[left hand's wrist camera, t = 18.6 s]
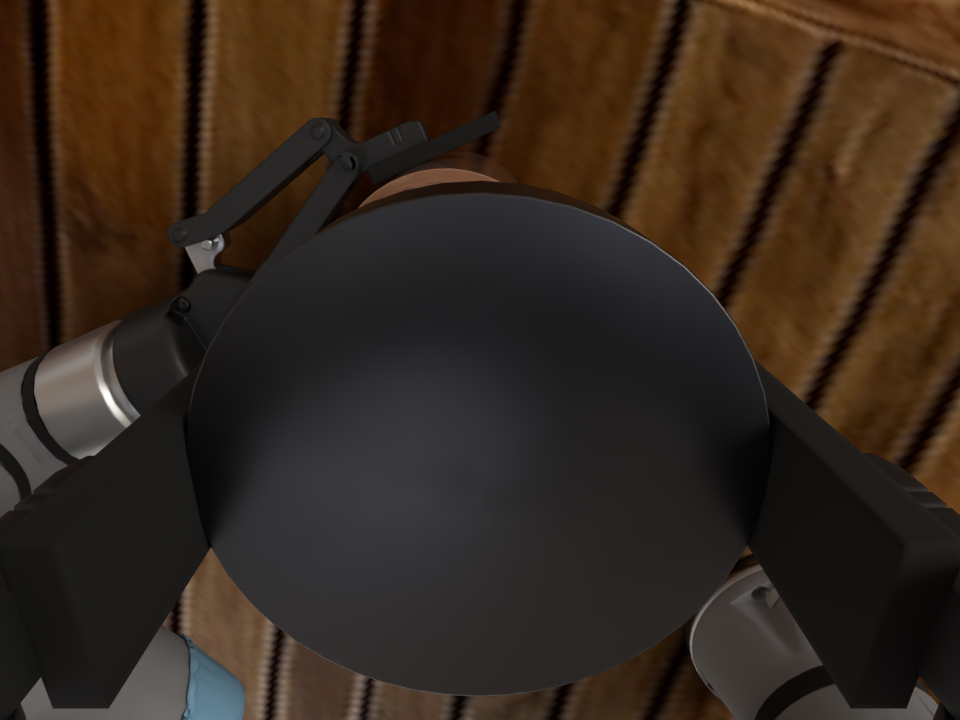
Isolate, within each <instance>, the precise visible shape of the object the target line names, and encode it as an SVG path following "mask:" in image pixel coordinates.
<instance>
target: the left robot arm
mask: <svg viewBox="0 0 960 720" xmlns="http://www.w3.org/2000/svg"><path fill="white" fill-rule="evenodd" d="M754 361H755V360H754ZM201 364H202V363H201ZM201 364H200V365H199V366H197V367H196V368H195V369H194V370H193V371H192V372H190V373H189V374H188V375H187V376H186V377H185V378H184V379H182V380H181V381H180V382H179V383H178V384H177V385H175V386H174V387H173V388H172V389H171V390H170V391H169V392H167V393H166V394H165V395H164V396H163V397H162V398H160V399H159V400H158V401H157V402H156V403H155V404H154V405H152V406H151V407H150V408H149V409H148V410H147V411H145V412H144V413H143V414H142V415H141V416H140V417H139V418H137V419H136V420H135V421H134V422H133V423H132V424H130V425H129V426H128V427H127V428H126V429H125V430H124V431H122V432H121V433H120V434H119V435H118V436H117V437H115V438H114V439H113V440H112V441H111V442H110V443H108V444H107V445H106V446H105V447H104V448H103V449H102V450H100V451H99V452H98V453H97V454H96V455H95V456H86V457H84V458H82V459H80V460H78V461H76V462H74V463H72V464H70V465H68V466H66V467H64V468H62V469H60V470H58V471H56V472H55V473H54V474H53V475H51V476H50V477H49V478H48V479H47V480H45V481H44V482H43V483H42V484H41V485H39V486H38V487H37V488H36V489H34V490H33V494H28V495H27V496H26V497H25V498H24V499H22V500H21V501H20V502H19V503H18V504H16V505H15V506H14V510H13V511H8V512H7V513H5V514H4V515H3V516H2V517H1V518H0V720H26V715H25V713H24V710H23V708H22V705H21V702H22V701H23V699H24V698H25V697H26V695H27V694H28V693H29V692H30V690H31V689H32V688H33V687H34V685H35V684H36V683H37V682H38V680H39V679H40V678H41V679H42V681H43V684H44V687H45V689H46V692H47V695H48V697H49V700H50V702H51V705H52V708H53V709H109V708H110V706H111V704H112V703H113V701H114V700H115V698H116V696H117V695H118V693H119V692H120V690H121V689H122V687H123V685H124V684H125V682H126V681H127V679H128V677H129V676H130V674H131V673H132V671H133V670H134V668H135V666H136V665H137V663H138V662H139V660H140V659H141V657H142V655H143V654H144V652H145V651H146V649H147V647H148V646H149V644H150V643H151V641H152V640H153V638H154V636H155V635H156V633H157V632H158V630H159V628H160V627H161V625H162V624H163V622H164V621H165V619H166V617H167V616H168V614H169V613H170V611H171V609H172V608H173V606H174V605H175V603H176V602H177V600H178V598H179V597H180V595H181V594H182V592H183V590H184V589H185V587H186V586H187V584H188V583H189V581H190V579H191V578H192V576H193V575H194V573H195V571H196V570H197V568H198V567H199V565H200V564H201V562H202V560H203V559H204V557H205V556H206V554H207V552H208V551H209V549H210V548H211V545H210V543H209V540H208V538H207V536H206V534H205V531H204V529H203V527H202V524H201V521H200V516H199V512H198V507H197V502H196V498H195V493H194V488H193V484H192V479H191V474H190V470H189V465H188V459H187V454H186V440H187V418H188V413H189V408H190V402H191V397H192V391H193V386H194V383H195V381H196V378H197V375H198V372H199V369H200V367H201ZM755 364H756V367H757V370H758V373H759V376H760V379H761V382H762V385H763V388H764V391H765V397H766V403H767V409H768V415H769V421H770V467H769V473H768V480H767V485H766V490H765V494H764V499H763V503H762V506H761V510H760V513H759V516H758V520H757V523H756V525H755V527H754V530H753V532H752V534H751V536H750V538H749V540H748V542H747V545H748V547H749V548H750V550H751V552H752V553H753V555H754V556H753V557H750V558H748V559H745V560H743V561H741V562H739V563H737V564H735V565H734V567H733V569H732V570H731V572H730V573H729V575H728V576H727V578H726V579H725V581H724V582H723V583H722V584H721V585H720V587H719V588H718V589H717V590H716V591H715V593H714V594H713V595H712V596H711V597H710V599H709V600H708V601H707V602H706V603H705V604H704V605H703V606H702V607H701V608H700V609H699V610H698V611H697V612H696V613H695V614H694V615H693V616H692V617H690V618H689V619H688V620H687V622H686V630H685V636H686V644H687V647H688V651H689V653H690V656H691V658H692V661H693V663H694V666H695V668H696V670H697V672H698V674H699V675H700V677H701V678H702V680H703V682H704V683H705V684H706V686H707V687H708V688H709V689H710V690H711V692H712V693H713V694H714V695H715V696H716V697H717V698H719V699H720V700H721V701H723V703H724V704H725V705H726V707H727V708H728V709H729V711H730V712H731V714H732V715H733V716H734V718H735V719H736V720H960V515H959V514H958V513H957V512H955V511H954V510H953V509H952V508H947V507H946V503H944V502H943V501H942V500H941V499H939V498H938V497H937V496H936V495H935V494H933V493H932V492H927V488H926V487H925V486H924V485H922V484H921V483H920V482H919V481H918V480H916V479H915V478H914V477H913V476H911V475H910V474H909V473H908V472H907V471H905V470H904V469H902V468H900V467H898V466H896V465H894V464H892V463H890V462H888V461H887V460H885V459H883V458H881V457H879V456H877V455H875V454H873V453H861V452H860V451H859V450H858V449H857V448H856V447H855V446H853V445H852V444H851V443H850V442H849V441H848V440H846V439H845V438H844V437H843V436H842V435H841V434H840V433H838V432H837V431H836V430H835V429H834V428H833V427H831V426H830V425H829V424H828V423H827V422H826V421H825V420H823V419H822V418H821V417H820V416H819V415H818V414H816V413H815V412H814V411H813V410H812V409H811V408H810V407H808V406H807V405H806V404H805V403H804V402H803V401H801V400H800V399H799V398H798V397H797V396H796V395H795V394H793V393H792V392H791V391H790V390H789V389H788V388H786V387H785V386H784V385H783V384H782V383H781V382H780V381H778V380H777V379H776V378H775V377H774V376H773V375H771V374H770V373H769V372H768V371H767V370H766V369H765V368H763V367H762V366H761V365H760V364H759V363H758V362H756V361H755ZM919 675H920V676H921V677H922V679H923V680H924V681H925V682H926V684H927V685H928V686H929V688H930V689H931V690H932V691H933V693H934V694H935V695H936V696H937V698H938V699H939V700H940V703H939V705H937V703H936V702H935V701H934V700H933V699H932V697H931V696H930V695H929V694H928V692H927V691H926V690H925V688H924V687H923V686H922V684H921V683H920V682H919V681H918V677H919Z"/></svg>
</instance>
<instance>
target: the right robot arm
mask: <svg viewBox="0 0 960 720" xmlns="http://www.w3.org/2000/svg"><path fill="white" fill-rule="evenodd" d="M498 128H501V125H500V123H499V120H498V117H497V115H496V112H495V111H493V112H491V113H489V114H487V115H485V116H482V117H480V118H478V119H476V120H474V121H472V122H469V123H467V124H465V125H463V126H461V127H458V128H456V129H454V130H452V131H450V132H447V133H445V134H443V135H441V136H439V137H437V138H434V139H432V140H430V138H429V136H428V133H427V131H426V129H425V126H424V124H423V122H422V121H408V122H406V123H403V124H401V125H399V126H397V127H395V128H393V129H391V130H388V131H386V132H384V133H382V134H380V135H378V136H375V137H373V138H371V139H369V140H367V141H365V142H357V141H355V140H353V139H352V138H351V137H350V136H349V135H348V134H347V133H346V132H345V131H344V130H343V129H342V128H341V126H340V124H339V123H338V122H337V121H336V120H335V119H332V118H313V119H311V120H309V121H308V122H307V123H306V124H304V125H303V126H302V127H301V128H300V129H299V130H298V131H297V132H296V133H294V134H293V135H292V136H291V137H290V138H289V139H288V140H287V141H285V142H284V143H283V144H282V145H281V146H280V147H279V148H278V149H276V150H275V151H274V152H273V153H272V154H271V155H270V156H269V157H267V158H266V159H265V160H264V161H263V162H262V163H261V164H260V165H258V166H257V167H256V168H255V169H254V170H253V171H252V172H251V173H249V174H248V175H247V176H246V177H245V178H244V179H243V180H242V181H240V182H239V183H238V184H237V185H236V186H235V187H234V188H233V189H231V190H230V191H229V192H228V193H227V194H226V195H225V196H224V197H222V198H221V199H220V200H219V201H218V202H217V203H216V204H215V205H213V206H212V207H211V208H210V209H209V210H208V211H207V212H206V213H203V214H200V215H197V216H194V217H191V218H188V219H185V220H182V221H180V222H177V223H174V224H172V225H170V227H169V228H168V232H167V235H168V238H169V240H170V241H171V243H172V244H174V245H175V246H177V247H185V249H186V251H187V253H188V255H189V257H190V259H191V261H192V263H193V265H194V267H195V269H196V271H197V273H198V275H197V276H196V277H195V278H194V280H193V282H192V283H191V285H190V286H189V287H188V288H187V289H184V290H182V291H180V292H178V293H175V294H173V295H171V296H169V297H167V298H164V299H162V300H160V301H158V302H155V303H153V304H151V305H149V306H146V307H144V308H142V309H140V310H138V311H135V312H133V313H131V314H129V315H127V316H126V317H125V318H124V319H123V320H115V321H113V322H111V323H109V324H106V325H104V326H102V327H100V328H97V329H95V330H93V331H91V332H88V333H86V334H84V335H82V336H79V337H77V338H75V339H73V340H70V341H68V342H66V343H64V344H61V345H59V346H57V347H55V348H53V349H52V350H50V351H48V352H46V353H44V354H42V355H41V356H39V357H36V358H34V359H31V360H29V361H26V362H24V363H22V364H19V365H17V366H14V367H12V368H10V369H7V370H5V371H2V372H0V518H1V517H2V516H3V515H4V514H5V513H7V512H8V511H13V510H14V506H15V505H16V504H18V503H19V502H20V501H21V500H22V499H24V498H25V497H26V496H27V495H28V494H33V490H34V489H36V488H37V487H38V486H39V485H41V484H42V483H43V482H44V481H45V480H47V479H48V478H49V477H50V476H51V475H53V474H54V473H55V472H56V471H58V470H60V469H62V468H64V467H66V466H68V465H70V464H72V463H74V462H76V461H78V460H80V459H82V458H84V457H86V456H95V455H96V454H97V453H98V452H99V451H100V450H102V449H103V448H104V447H105V446H106V445H107V444H108V443H110V442H111V441H112V440H113V439H114V438H115V437H117V436H118V435H119V434H120V433H121V432H122V431H124V430H125V429H126V428H127V427H128V426H129V425H130V424H132V423H133V422H134V421H135V420H136V419H137V418H139V417H140V416H141V415H142V414H143V413H144V412H145V411H147V410H148V409H149V408H150V407H151V406H152V405H154V404H155V403H156V402H157V401H158V400H159V399H160V398H162V397H163V396H164V395H165V394H166V393H167V392H169V391H170V390H171V389H172V388H173V387H174V386H175V385H177V384H178V383H179V382H180V381H181V380H182V379H184V378H185V377H186V376H187V375H188V374H189V373H190V372H192V371H193V370H194V369H195V368H196V367H197V366H199V365H200V364H201V363H202V361H203V358H204V355H205V353H206V351H207V349H208V347H209V345H210V344H211V342H212V340H213V338H214V336H215V334H216V333H217V331H218V329H219V327H220V325H221V323H222V322H223V320H224V319H225V317H226V316H227V315H228V313H229V312H230V311H231V309H232V308H233V307H234V306H235V304H236V303H237V302H238V300H239V299H240V298H241V296H242V295H243V294H244V293H245V291H246V290H247V289H248V288H249V287H250V286H251V285H252V284H253V283H254V282H255V281H256V280H257V279H258V278H259V277H260V276H261V275H262V274H264V273H265V272H266V271H267V270H268V269H269V268H270V267H271V266H272V265H273V264H274V263H275V262H276V261H278V260H279V259H280V258H282V257H283V256H285V255H286V254H287V253H289V252H290V251H292V250H293V249H294V248H296V247H297V246H299V245H300V244H302V243H303V242H304V241H306V240H307V239H309V238H310V237H311V236H313V235H314V234H316V233H317V232H319V231H320V230H322V229H323V228H325V227H326V226H328V224H329V223H330V221H331V220H332V219H333V217H334V216H335V214H336V213H337V212H338V210H339V209H340V207H341V206H342V204H343V203H344V202H345V200H346V199H347V197H348V196H349V195H350V193H351V192H352V190H353V189H354V188H355V186H356V185H357V183H358V182H359V180H360V179H361V178H362V176H363V175H364V173H365V172H366V171H367V172H368V174H369V176H370V178H371V181H372V183H373V185H375V184H377V183H379V182H381V181H383V180H386V179H388V178H390V177H392V176H395V175H397V174H399V173H401V172H403V171H406V170H408V169H410V168H412V167H414V166H417V165H419V164H421V163H423V162H425V161H428V160H430V159H432V158H434V157H437V156H439V155H441V154H443V153H445V152H448V151H450V150H452V149H454V148H456V147H459V146H461V145H463V144H465V143H467V142H470V141H472V140H474V139H476V138H479V137H481V136H483V135H485V134H487V133H490V132H492V131H494V130H496V129H498ZM323 154H325V155H326V156H327V157H328V158H329V159H330V160H331V161H332V162H333V163H332V165H331V166H330V168H329V169H328V170H327V172H326V173H325V175H324V176H323V178H322V179H321V181H320V182H319V184H318V185H317V187H316V188H315V189H314V191H313V192H312V194H311V195H310V197H309V198H308V200H307V201H306V203H305V204H304V206H303V207H302V208H301V210H300V211H299V213H298V214H297V216H296V217H295V219H294V220H293V222H292V223H291V225H290V226H289V227H288V229H287V230H286V232H285V233H284V235H283V236H282V238H281V239H280V241H279V242H278V244H277V245H276V246H275V248H274V249H273V251H272V252H271V254H270V255H269V257H268V258H267V259H266V260H265V261H264V262H263V263H262V265H261V266H260V267H259V269H258V270H257V272H255V271H251V270H246V269H242V268H237V267H232V266H228V265H222V263H221V254H222V252H223V251H224V250H225V249H227V248H228V247H229V246H230V244H231V237H230V234H229V232H228V231H229V230H232V229H234V228H236V227H237V226H239V225H241V224H242V223H244V222H245V221H246V220H248V219H249V218H250V217H251V216H252V215H254V214H255V213H256V212H257V211H258V210H259V209H261V208H262V207H263V206H264V205H265V204H266V203H267V202H269V201H270V200H271V199H272V198H273V197H274V196H276V195H277V194H278V193H279V192H280V191H281V190H282V189H284V188H285V187H286V186H287V185H288V184H289V183H291V182H292V181H293V180H294V179H295V178H296V177H297V176H299V175H300V174H301V173H302V172H303V171H304V170H306V169H307V168H308V167H309V166H310V165H311V164H312V163H314V162H315V161H316V160H317V159H318V158H319V157H321V156H322V155H323ZM21 705H22V708H23V710H24V713H25V715H26V720H242V718H243V714H244V709H245V694H244V689H243V686H242V684H241V682H240V681H239V680H238V679H237V677H236V676H234V675H233V674H232V673H231V672H229V671H228V670H227V669H225V668H224V667H223V666H222V665H220V664H219V663H218V662H217V661H215V660H214V659H213V658H211V657H210V656H209V655H208V654H206V653H205V652H204V651H203V650H201V649H200V648H199V647H197V646H196V645H195V644H194V643H193V642H192V641H191V639H189V638H188V637H187V636H185V635H183V634H180V635H176V634H175V633H173V632H172V631H170V630H168V629H167V628H165V627H163V626H162V625H161V627H160V628H159V630H158V632H157V633H156V635H155V636H154V638H153V640H152V641H151V643H150V644H149V646H148V647H147V649H146V651H145V652H144V654H143V655H142V657H141V659H140V660H139V662H138V663H137V665H136V666H135V668H134V670H133V671H132V673H131V674H130V676H129V677H128V679H127V681H126V682H125V684H124V685H123V687H122V689H121V690H120V692H119V693H118V695H117V696H116V698H115V700H114V701H113V703H112V704H111V706H110V708H109V709H53V708H52V705H51V702H50V700H49V697H48V695H47V692H46V689H45V687H44V684H43V681H42V679H41V678H40V679H39V680H38V682H37V683H36V684H35V685H34V687H33V688H32V689H31V690H30V692H29V693H28V694H27V695H26V697H25V698H24V699H23V701H22V702H21Z"/></svg>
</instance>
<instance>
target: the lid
mask: <svg viewBox="0 0 960 720" xmlns="http://www.w3.org/2000/svg"><path fill="white" fill-rule="evenodd" d="M186 454H187V459H188V465H189V470H190V474H191V479H192V484H193V488H194V493H195V498H196V502H197V507H198V512H199V516H200V521H201V524H202V527H203V529H204V531H205V534H206V536H207V538H208V540H209V543H210V545H211V547H212V549H213V551H214V552H215V554H216V556H217V557H218V559H219V561H220V562H221V564H222V565H223V567H224V569H225V570H226V572H227V574H228V575H229V576H230V578H231V579H232V580H233V581H234V583H235V584H236V585H237V586H238V588H239V589H240V590H241V591H242V593H243V594H244V595H245V596H246V598H247V599H248V600H249V601H250V602H251V603H252V604H253V605H254V606H255V607H256V608H257V609H258V610H259V611H260V612H261V613H262V614H263V615H264V616H265V617H267V618H268V619H269V620H270V621H271V622H272V623H273V624H274V625H276V626H277V627H278V628H280V629H281V630H282V631H283V632H285V633H286V634H287V635H289V636H290V637H291V638H293V639H294V640H295V641H297V642H298V643H300V644H301V645H303V646H305V647H306V648H308V649H310V650H311V651H313V652H315V653H316V654H318V655H320V656H321V657H323V658H325V659H327V660H329V661H331V662H333V663H335V664H337V665H340V666H342V667H344V668H346V669H348V670H350V671H352V672H355V673H358V674H361V675H364V676H366V677H369V678H372V679H375V680H378V681H380V682H384V683H388V684H392V685H396V686H400V687H404V688H408V689H412V690H418V691H425V692H431V693H438V694H445V695H464V696H493V695H511V694H519V693H526V692H533V691H540V690H545V689H549V688H553V687H557V686H562V685H566V684H570V683H573V682H576V681H579V680H582V679H585V678H588V677H591V676H594V675H597V674H600V673H602V672H605V671H607V670H609V669H611V668H613V667H616V666H618V665H620V664H622V663H624V662H626V661H629V660H631V659H632V658H634V657H636V656H637V655H639V654H641V653H643V652H644V651H646V650H648V649H649V648H651V647H653V646H654V645H656V644H658V643H659V642H660V641H662V640H663V639H664V638H666V637H667V636H668V635H670V634H671V633H672V632H674V631H675V630H676V629H678V628H679V627H680V626H682V625H683V624H684V623H685V622H686V621H687V620H688V619H689V618H690V617H692V616H693V615H694V614H695V613H696V612H697V611H698V610H699V609H700V608H701V607H702V606H703V605H704V604H705V603H706V602H707V601H708V600H709V599H710V597H711V596H712V595H713V594H714V593H715V591H716V590H717V589H718V588H719V587H720V585H721V584H722V583H723V582H724V581H725V579H726V578H727V576H728V575H729V573H730V572H731V570H732V569H733V567H734V565H735V564H736V562H737V561H738V559H739V558H740V556H741V555H742V553H743V551H744V549H745V547H746V545H747V542H748V540H749V538H750V536H751V534H752V532H753V530H754V527H755V525H756V523H757V520H758V516H759V513H760V510H761V506H762V503H763V499H764V494H765V490H766V485H767V480H768V473H769V467H770V421H769V415H768V409H767V403H766V397H765V391H764V388H763V385H762V382H761V379H760V376H759V373H758V370H757V367H756V364H755V361H754V358H753V356H752V354H751V352H750V350H749V348H748V346H747V344H746V343H745V341H744V339H743V337H742V335H741V333H740V331H739V329H738V327H737V325H736V324H735V322H734V321H733V320H732V318H731V317H730V316H729V314H728V313H727V311H726V310H725V309H724V307H723V306H722V305H721V303H720V302H719V301H718V299H717V298H716V297H715V295H714V294H713V293H712V292H711V291H710V290H709V289H708V288H707V287H706V286H705V285H704V284H703V283H702V282H701V281H700V280H699V279H698V278H697V277H696V276H695V275H694V274H693V273H692V272H691V271H690V270H689V269H688V268H687V267H686V266H685V265H684V264H683V263H681V262H680V261H678V260H677V259H676V258H674V257H673V256H672V255H670V254H669V253H668V252H666V251H665V250H664V249H662V248H661V247H659V246H658V245H657V244H655V243H654V242H653V241H651V240H650V239H648V238H647V237H645V236H644V235H643V234H641V233H640V232H638V231H637V230H635V229H634V228H632V227H631V226H630V225H628V224H627V223H625V222H624V221H622V220H620V219H618V218H616V217H614V216H612V215H611V214H609V213H607V212H605V211H603V210H601V209H599V208H598V207H596V206H594V205H592V204H589V203H586V202H584V201H581V200H578V199H575V198H573V197H570V196H567V195H565V194H562V193H559V192H556V191H552V190H547V189H542V188H538V187H533V186H529V185H524V184H519V183H506V182H493V181H465V182H448V183H439V184H434V185H429V186H424V187H419V188H414V189H409V190H404V191H401V192H399V193H396V194H393V195H390V196H387V197H384V198H381V199H378V200H375V201H373V202H370V203H368V204H366V205H364V206H362V207H360V208H358V209H356V210H354V211H352V212H350V213H348V214H346V215H344V216H342V217H340V218H338V219H337V220H335V221H334V222H332V223H331V224H329V225H328V226H326V227H325V228H323V229H322V230H320V231H319V232H317V233H316V234H314V235H313V236H311V237H310V238H309V239H307V240H306V241H304V242H303V243H302V244H300V245H299V246H297V247H296V248H294V249H293V250H292V251H290V252H289V253H287V254H286V255H285V256H283V257H282V258H280V259H279V260H278V261H276V262H275V263H274V264H273V265H272V266H271V267H270V268H269V269H268V270H267V271H266V272H265V273H264V274H262V275H261V276H260V277H259V278H258V279H257V280H256V281H255V282H254V283H253V284H252V285H251V286H250V287H249V288H248V289H247V290H246V291H245V293H244V294H243V295H242V296H241V298H240V299H239V300H238V302H237V303H236V304H235V306H234V307H233V308H232V309H231V311H230V312H229V313H228V315H227V316H226V317H225V319H224V320H223V322H222V323H221V325H220V327H219V329H218V331H217V333H216V334H215V336H214V338H213V340H212V342H211V344H210V345H209V347H208V349H207V351H206V353H205V355H204V358H203V361H202V364H201V367H200V369H199V372H198V375H197V378H196V381H195V383H194V386H193V391H192V397H191V402H190V408H189V413H188V418H187V440H186Z"/></svg>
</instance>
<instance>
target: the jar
mask: <svg viewBox="0 0 960 720" xmlns="http://www.w3.org/2000/svg"><path fill="white" fill-rule="evenodd" d="M465 181H493V182H506V183H519V182H518V181H517V179H516V178H515V177H514V176H513V175H512V174H511V173H510V172H509V171H508V170H507V169H506V168H504V167H503V166H502V165H500V164H499V163H497V162H495V161H494V160H492V159H490V158H488V157H485V156H483V155H480V154H476V153H472V152H465V151H449V152H445V153H443V154H441V155H439V156H437V157H434V158H432V159H430V160H428V161H425V162H423V163H421V164H419V165H417V166H414V167H412V168H410V169H408V170H406V171H404V172H402V173H401V174H400V175H398V176H397V177H395V178H394V179H392V180H391V181H389V182H388V183H386V184H385V185H384V186H382V187H381V188H379V189H378V190H376V191H375V192H374V193H373V194H371V195H370V196H369V197H368V198H367V199H366V200H365V201H363V203H362V204H361V205H360V206H359V207H358V208H360V207H362V206H364V205H366V204H368V203H370V202H373V201H375V200H378V199H381V198H384V197H387V196H390V195H393V194H396V193H399V192H401V191H404V190H409V189H414V188H419V187H424V186H429V185H434V184H439V183H448V182H465ZM519 184H520V183H519ZM358 208H357V209H358Z"/></svg>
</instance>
